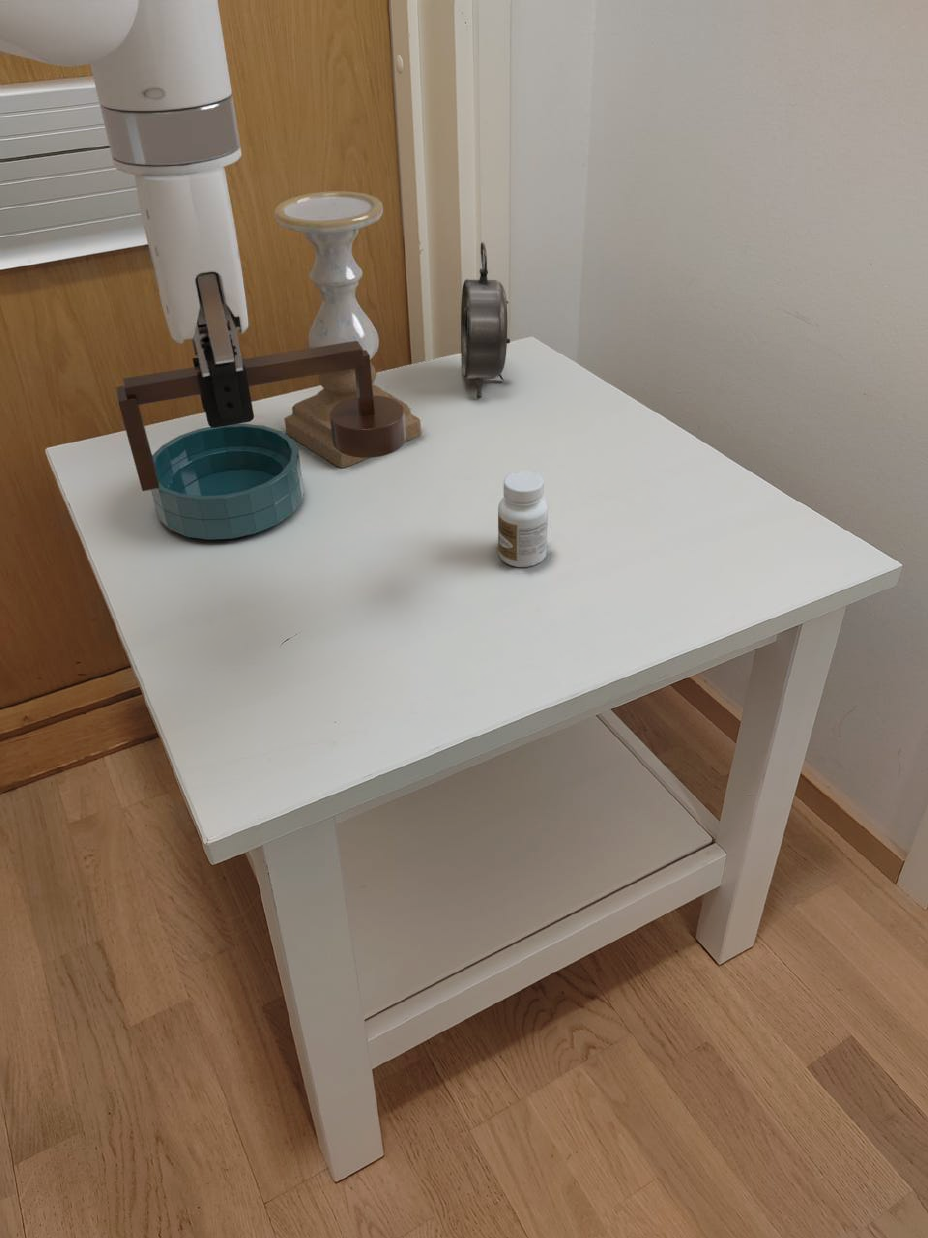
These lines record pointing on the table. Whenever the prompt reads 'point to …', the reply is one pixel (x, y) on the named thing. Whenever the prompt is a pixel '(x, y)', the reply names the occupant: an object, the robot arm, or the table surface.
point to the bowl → (227, 481)
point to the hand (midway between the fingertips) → (228, 413)
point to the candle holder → (334, 309)
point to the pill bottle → (522, 520)
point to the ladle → (354, 422)
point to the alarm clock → (483, 327)
